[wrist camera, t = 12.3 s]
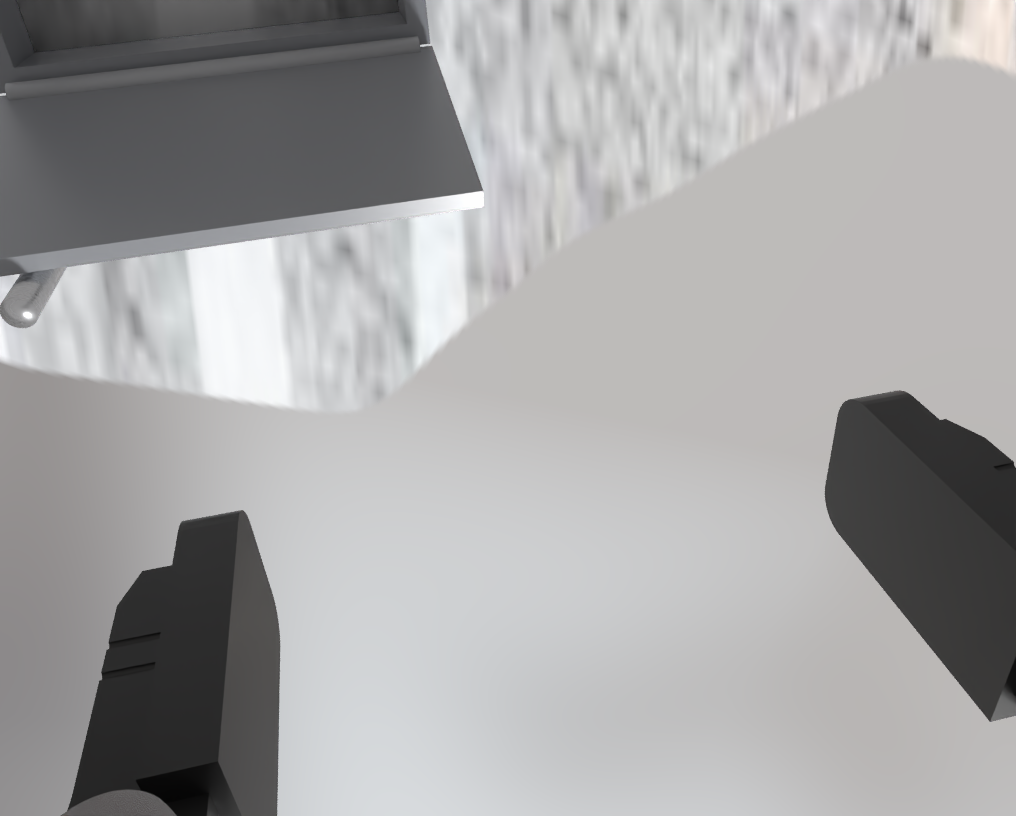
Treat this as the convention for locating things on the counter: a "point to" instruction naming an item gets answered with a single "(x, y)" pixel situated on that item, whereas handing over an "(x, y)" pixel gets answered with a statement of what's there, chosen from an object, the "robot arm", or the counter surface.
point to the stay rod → (29, 297)
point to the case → (195, 43)
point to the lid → (226, 153)
